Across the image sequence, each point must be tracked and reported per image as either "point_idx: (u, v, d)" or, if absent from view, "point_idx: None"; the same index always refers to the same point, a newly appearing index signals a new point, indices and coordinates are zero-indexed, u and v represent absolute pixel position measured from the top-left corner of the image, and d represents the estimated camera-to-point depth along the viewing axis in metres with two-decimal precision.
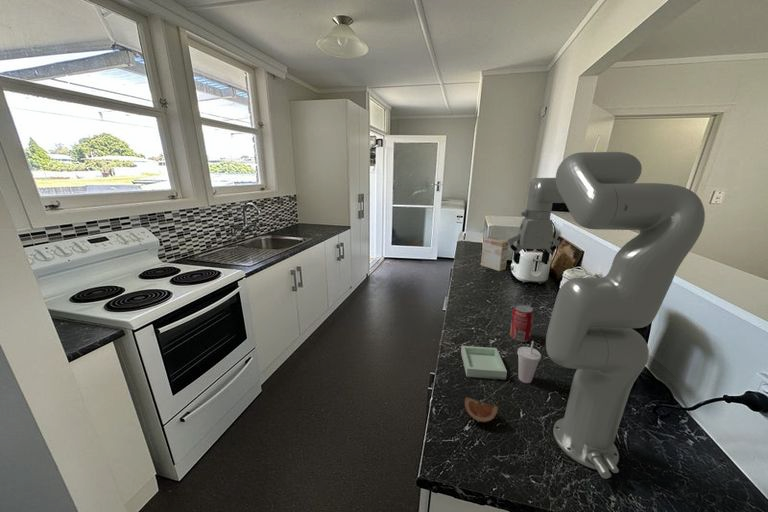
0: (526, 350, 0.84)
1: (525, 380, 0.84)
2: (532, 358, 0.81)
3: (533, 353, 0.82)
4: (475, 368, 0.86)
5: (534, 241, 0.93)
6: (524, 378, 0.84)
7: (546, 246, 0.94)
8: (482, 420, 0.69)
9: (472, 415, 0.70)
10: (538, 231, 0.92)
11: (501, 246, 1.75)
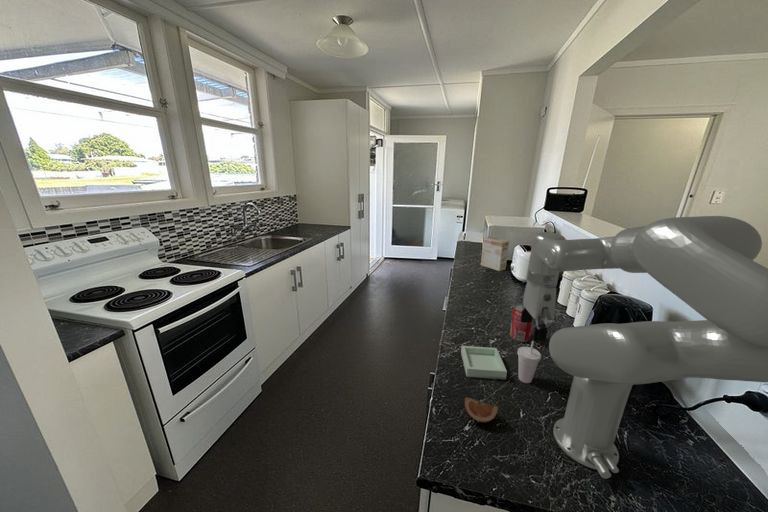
0: (526, 350, 0.84)
1: (525, 380, 0.84)
2: (532, 358, 0.81)
3: (533, 353, 0.82)
4: (475, 368, 0.86)
5: None
6: (524, 378, 0.84)
7: None
8: (482, 420, 0.69)
9: (472, 415, 0.70)
10: None
11: (501, 246, 1.75)
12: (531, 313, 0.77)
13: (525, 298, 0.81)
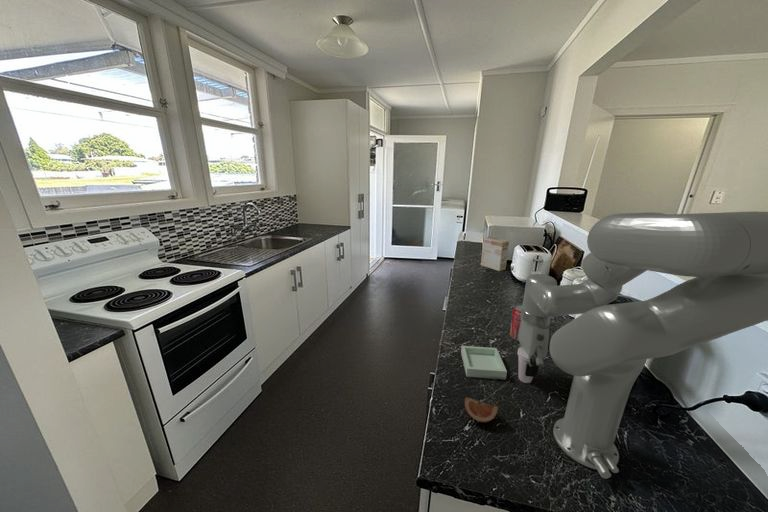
0: None
1: (525, 380, 0.84)
2: (532, 358, 0.81)
3: None
4: (475, 368, 0.86)
5: None
6: (524, 378, 0.84)
7: None
8: (482, 420, 0.69)
9: (472, 415, 0.70)
10: None
11: (501, 246, 1.75)
12: (525, 350, 0.81)
13: (520, 334, 0.85)
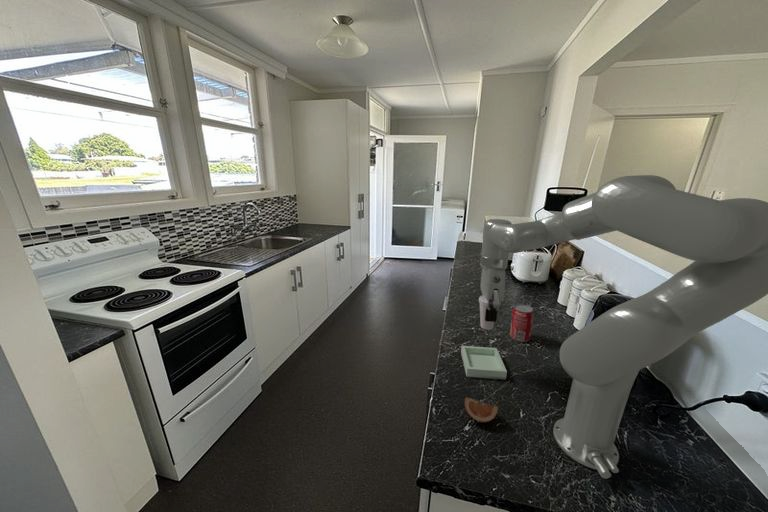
0: None
1: (486, 326, 0.86)
2: (491, 303, 0.82)
3: None
4: (475, 368, 0.86)
5: None
6: (485, 325, 0.86)
7: None
8: (482, 420, 0.69)
9: (472, 415, 0.70)
10: None
11: None
12: (484, 295, 0.82)
13: (481, 282, 0.86)
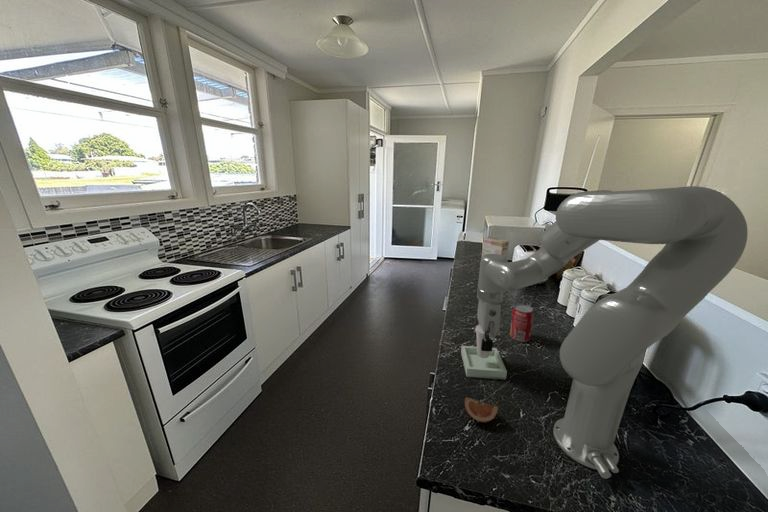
0: None
1: (482, 355, 0.89)
2: (487, 334, 0.86)
3: None
4: (475, 368, 0.86)
5: None
6: (481, 353, 0.89)
7: None
8: (482, 420, 0.69)
9: (472, 415, 0.70)
10: None
11: (501, 246, 1.75)
12: (481, 326, 0.85)
13: (478, 312, 0.90)
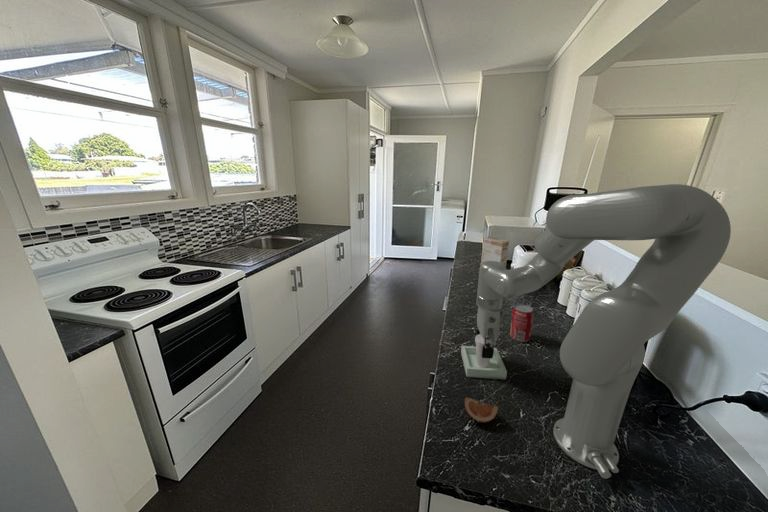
0: None
1: (482, 365, 0.89)
2: None
3: None
4: (475, 368, 0.86)
5: None
6: (481, 363, 0.89)
7: None
8: (482, 420, 0.69)
9: (472, 415, 0.70)
10: None
11: (501, 246, 1.75)
12: (480, 332, 0.86)
13: (477, 318, 0.90)
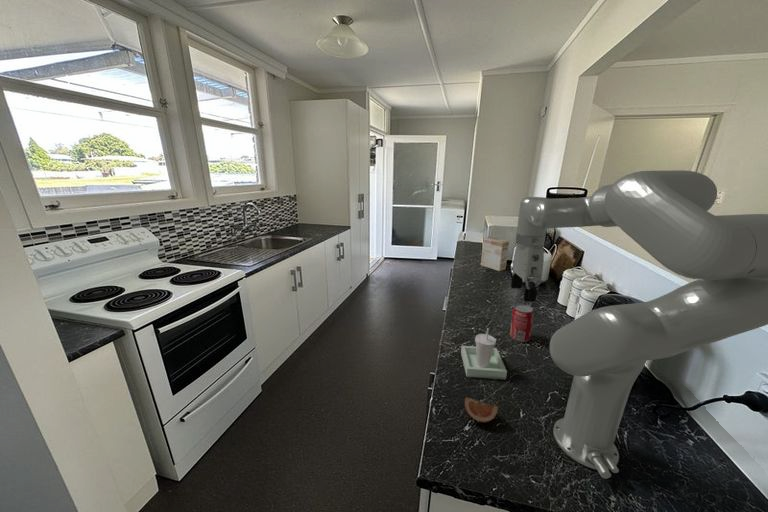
0: (483, 337, 0.89)
1: (482, 365, 0.89)
2: (487, 344, 0.86)
3: (489, 339, 0.88)
4: (475, 368, 0.86)
5: None
6: (481, 363, 0.89)
7: None
8: (482, 420, 0.69)
9: (472, 415, 0.70)
10: None
11: (501, 246, 1.75)
12: (521, 275, 0.81)
13: (514, 263, 0.85)
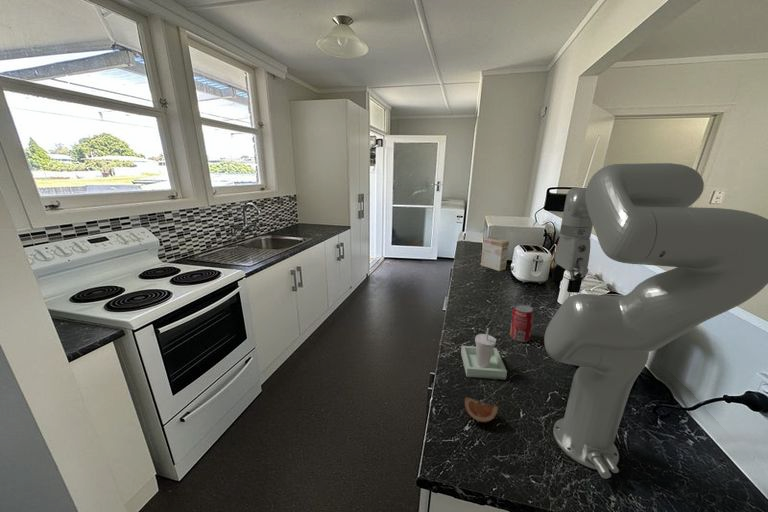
0: (483, 337, 0.89)
1: (482, 365, 0.89)
2: (487, 344, 0.86)
3: (489, 339, 0.88)
4: (475, 368, 0.86)
5: None
6: (481, 363, 0.89)
7: None
8: (482, 420, 0.69)
9: (472, 415, 0.70)
10: None
11: (501, 246, 1.75)
12: (565, 266, 0.81)
13: (557, 254, 0.85)
